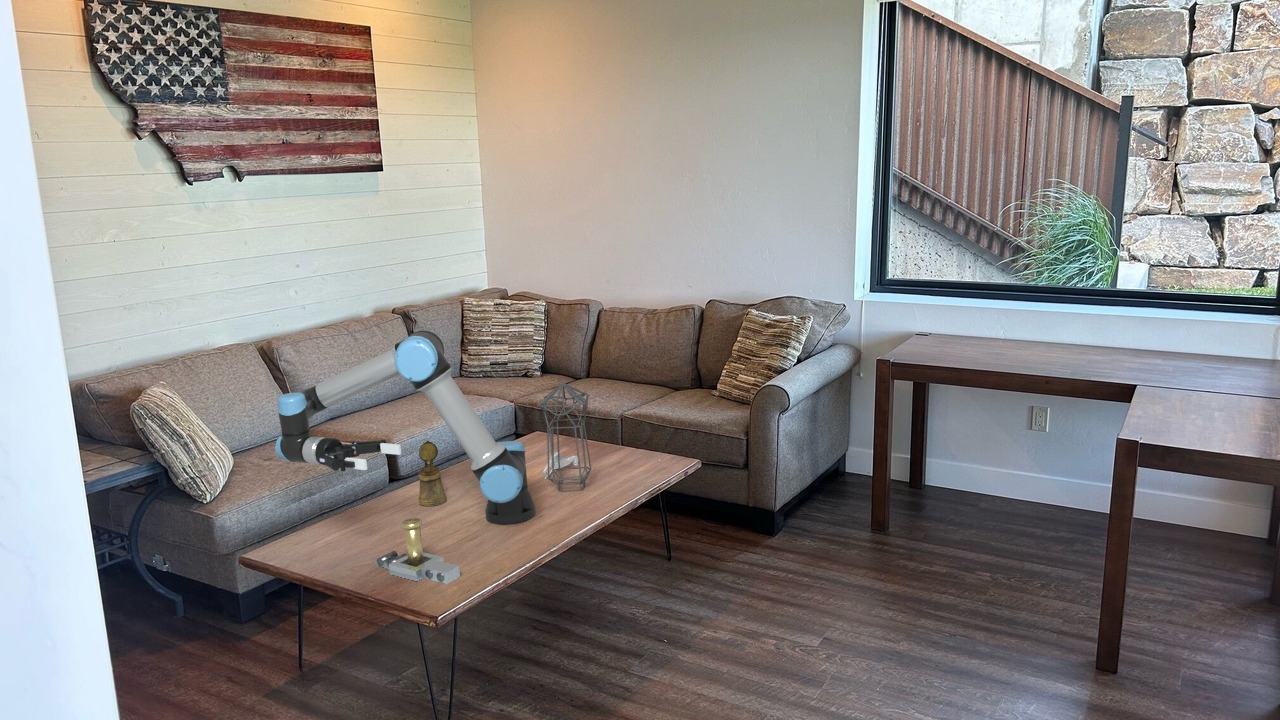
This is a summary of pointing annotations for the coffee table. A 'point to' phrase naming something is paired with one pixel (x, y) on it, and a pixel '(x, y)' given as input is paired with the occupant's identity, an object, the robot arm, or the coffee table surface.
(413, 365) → the robot arm
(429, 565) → the grey link plate
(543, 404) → the geometric lantern
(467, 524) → the coffee table surface
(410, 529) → the pin
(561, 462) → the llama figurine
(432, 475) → the brass bell
